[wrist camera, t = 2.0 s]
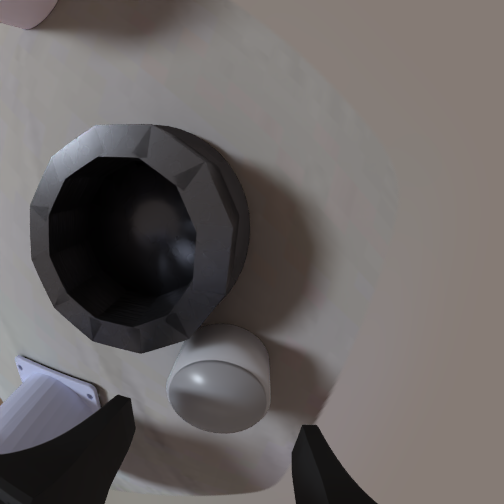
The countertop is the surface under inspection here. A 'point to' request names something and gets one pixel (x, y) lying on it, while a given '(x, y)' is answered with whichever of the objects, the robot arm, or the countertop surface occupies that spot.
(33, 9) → the smoothie
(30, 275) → the countertop surface
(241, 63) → the countertop surface
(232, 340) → the cap
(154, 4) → the countertop surface
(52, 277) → the dark grey pot
